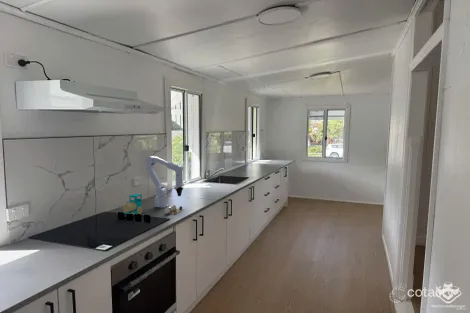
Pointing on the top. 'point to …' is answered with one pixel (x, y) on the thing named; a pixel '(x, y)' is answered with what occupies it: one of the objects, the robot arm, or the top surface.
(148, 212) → the top surface
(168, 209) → the tube
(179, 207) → the collar board
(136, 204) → the toy train
